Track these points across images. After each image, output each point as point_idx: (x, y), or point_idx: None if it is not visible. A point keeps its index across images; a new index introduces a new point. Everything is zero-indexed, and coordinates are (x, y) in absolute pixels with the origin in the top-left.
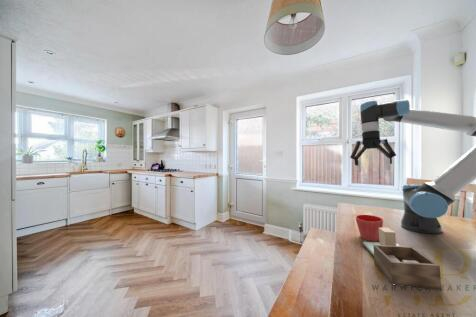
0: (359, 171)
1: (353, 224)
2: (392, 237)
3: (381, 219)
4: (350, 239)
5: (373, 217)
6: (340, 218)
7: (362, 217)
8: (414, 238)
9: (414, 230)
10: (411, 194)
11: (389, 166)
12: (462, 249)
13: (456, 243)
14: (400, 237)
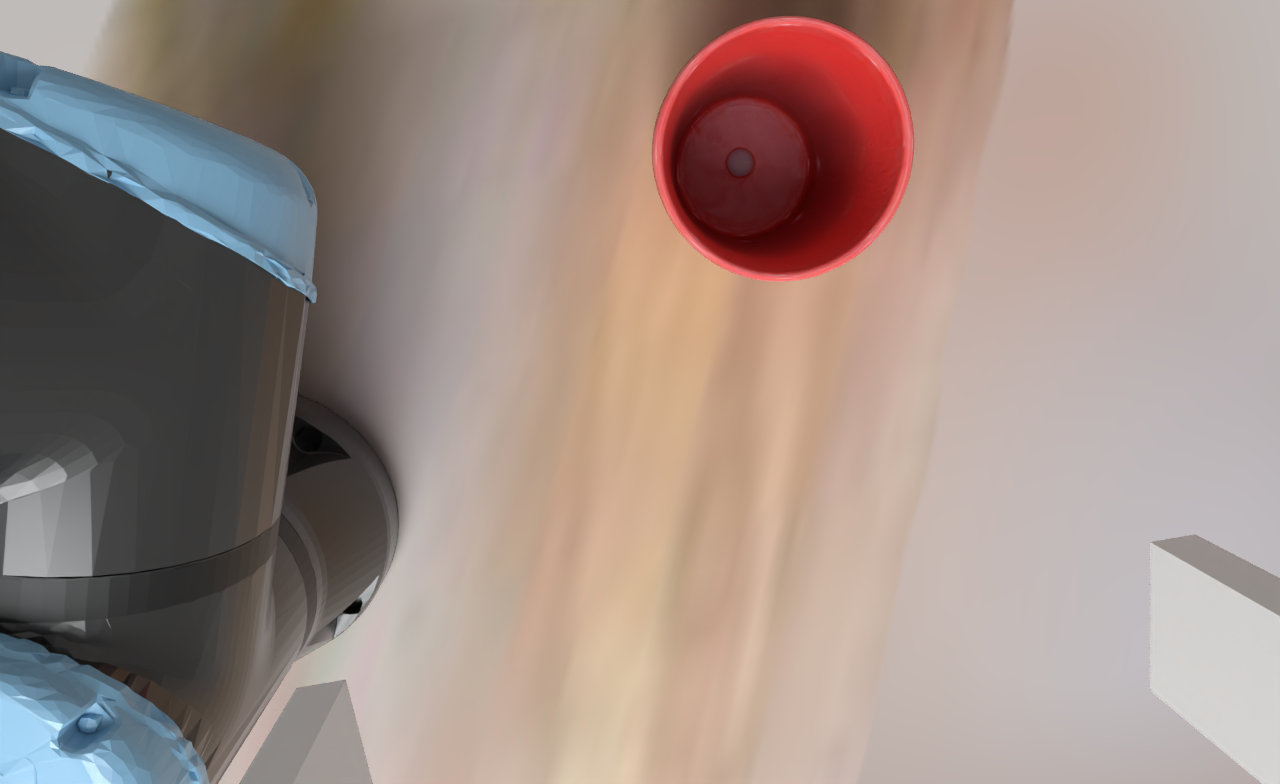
0: (1188, 542)
1: (799, 488)
2: None
3: (663, 151)
4: (911, 80)
5: (713, 248)
6: (880, 642)
7: (816, 255)
8: (395, 241)
9: (334, 417)
10: (199, 351)
11: (271, 781)
12: (135, 83)
13: None
14: (496, 237)
